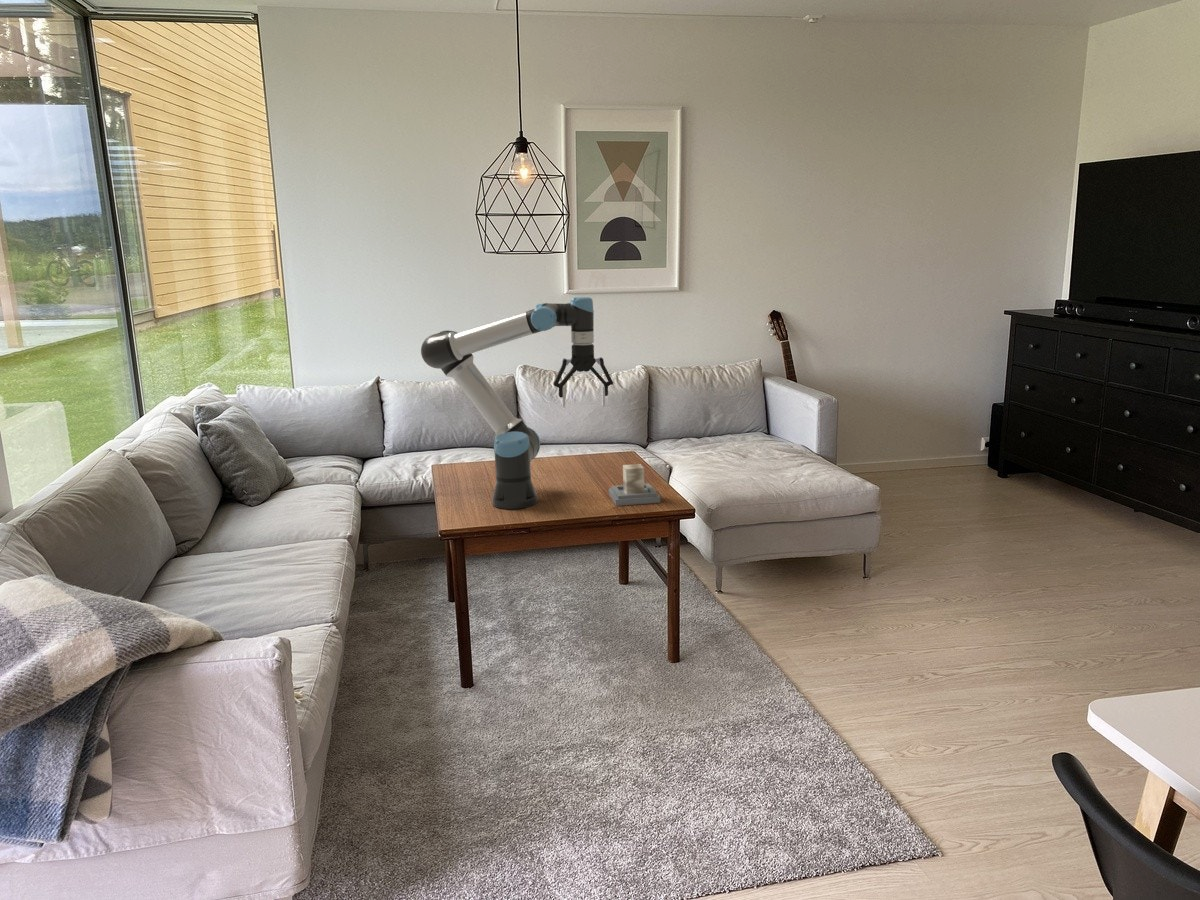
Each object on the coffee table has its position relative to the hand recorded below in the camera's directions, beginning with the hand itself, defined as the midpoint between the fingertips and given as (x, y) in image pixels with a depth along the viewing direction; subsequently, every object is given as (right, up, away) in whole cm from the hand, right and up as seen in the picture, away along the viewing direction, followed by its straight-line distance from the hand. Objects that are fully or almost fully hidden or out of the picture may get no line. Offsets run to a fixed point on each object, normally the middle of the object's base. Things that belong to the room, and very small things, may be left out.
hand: (583, 406), depth 299 cm
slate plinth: (+17, -31, -3) cm, 36 cm away
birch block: (+17, -29, -3) cm, 34 cm away
